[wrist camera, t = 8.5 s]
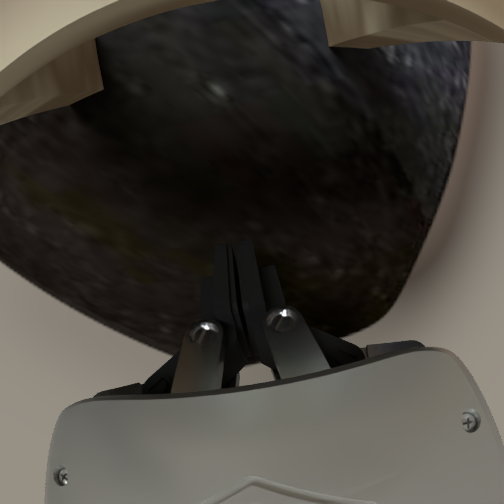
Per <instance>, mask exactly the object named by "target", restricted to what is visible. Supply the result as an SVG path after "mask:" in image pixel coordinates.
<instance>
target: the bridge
mask: <svg viewBox="0 0 504 504" xmlns="http://www.w3.org/2000/svg"><path fill="white" fill-rule="evenodd" d="M211 1H216V0H0V125H2V124H5V123H8V122H10V121H13V120H16V119H19V118H23V117H26V116H29V115H33V114H36V113H40V112H43V111H47V110H51V109H55V108H59V107H63V106H68V105H71V104H73V103H75V102H77V101H79V100H81V99H83V98H85V97H87V96H90V95H92V94H94V93H96V92H99V91H101V90H103V89H104V87H103V82H102V77H101V72H100V67H99V61H98V56H97V49H96V43H95V38H96V37H98V36H100V35H103V34H105V33H107V32H110V31H112V30H114V29H117V28H119V27H122V26H124V25H127V24H130V23H133V22H135V21H138V20H141V19H144V18H147V17H150V16H153V15H157V14H160V13H163V12H167V11H170V10H174V9H178V8H182V7H186V6H191V5H195V4H200V3H205V2H211ZM320 2H321V7H322V12H323V17H324V22H325V27H326V33H327V39H328V45H329V47H352V48H365V49H370V48H376V47H382V46H389V45H397V44H405V43H415V42H429V41H485V42H498V43H504V0H320Z"/></svg>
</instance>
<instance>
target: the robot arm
mask: <svg viewBox="0 0 504 504" xmlns="http://www.w3.org/2000/svg"><path fill="white" fill-rule="evenodd" d="M236 255H237V264H238V270H237V266H236V261H235V257H234V253H233V248H232V246H230V247H227V244H223V245H218V246H214V276H210V277H204V278H202V283H201V304H200V320H199V321H197V322H195V323H193V324H192V325H190V326H189V328H188V329H187V330H186V333H185V335H184V339H183V343H182V347H181V350H180V351H179V352H177V353H176V354H175V355H174V356H173V357H172V358H171V359H170V360H168V361H167V362H166V363H165V364H164V365H163V366H162V367H161V368H160V369H159V370H157V371H156V372H155V373H154V374H153V375H152V376H151V377H149V378H148V379H147V381H146V382H145V383H144V384H142V385H141V384H140V383H135V384H131V385H127V386H123V387H119V388H115V389H110V390H106V391H102V392H100V393H97V394H96V395H95V396H94V397H93V398H89V399H85V400H82V401H79V402H76V403H74V404H72V405H70V406H68V407H67V408H65V409H64V410H63V411H62V413H61V414H60V416H59V418H58V420H57V422H56V425H55V428H54V432H53V436H52V440H51V444H50V450H49V456H48V462H47V471H46V483H45V485H46V486H45V504H504V446H503V443H502V439H501V436H500V434H499V431H498V429H497V426H496V423H495V421H494V419H493V416H492V414H491V412H490V409H489V407H488V405H487V403H486V400H485V399H484V396H483V394H482V392H481V391H480V389H479V387H478V385H477V383H476V381H475V380H474V378H473V376H472V375H471V373H470V372H469V370H468V369H467V367H466V366H465V365H464V363H463V362H462V361H461V360H460V359H459V357H457V356H456V355H455V354H454V353H453V352H451V351H449V350H446V349H443V348H438V347H425V346H424V345H423V344H422V343H420V342H418V341H413V340H409V341H401V342H392V343H383V344H372V345H367V346H366V348H359V347H358V346H356V345H354V344H352V343H349V342H347V341H345V340H342V339H340V338H337V337H335V336H333V335H330V334H328V333H325V332H323V331H321V330H318V329H316V328H314V327H311V326H309V325H307V324H306V322H305V320H304V318H303V317H302V315H301V313H300V312H299V311H298V310H297V309H295V308H293V307H290V306H286V303H285V299H284V296H283V292H282V289H281V285H280V282H279V278H278V275H277V271H276V268H275V265H269V266H264V267H259V268H258V267H257V262H256V257H255V252H254V247H253V243H252V239H250V240H244V241H240V245H236ZM238 273H239V274H238ZM247 327H248V328H247ZM248 331H249V335H250V339H251V342H252V346H253V350H254V354H255V356H256V355H259V357H260V361H261V363H262V364H264V365H266V366H268V367H270V368H271V371H272V374H273V377H274V379H275V381H270V382H265V383H259V384H253V385H247V386H239V380H240V375H239V371H240V370H241V369H242V368H243V367H244V366H245V365H246V364H247V357H250V356H251V351H250V343H249V336H248Z"/></svg>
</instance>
